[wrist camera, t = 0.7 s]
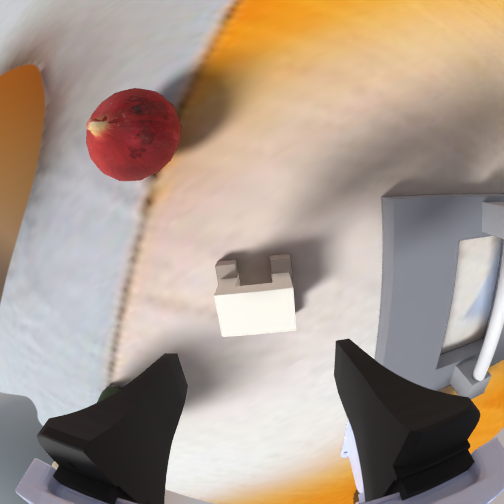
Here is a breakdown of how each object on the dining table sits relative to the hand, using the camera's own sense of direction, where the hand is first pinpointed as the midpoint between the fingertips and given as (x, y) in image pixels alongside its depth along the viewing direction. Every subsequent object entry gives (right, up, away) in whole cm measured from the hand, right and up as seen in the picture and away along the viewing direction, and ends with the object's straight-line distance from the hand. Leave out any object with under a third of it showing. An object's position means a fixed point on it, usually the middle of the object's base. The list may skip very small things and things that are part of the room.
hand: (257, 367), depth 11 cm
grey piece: (+21, +1, +9) cm, 23 cm away
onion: (-7, +13, +7) cm, 16 cm away
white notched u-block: (0, +2, +9) cm, 9 cm away
